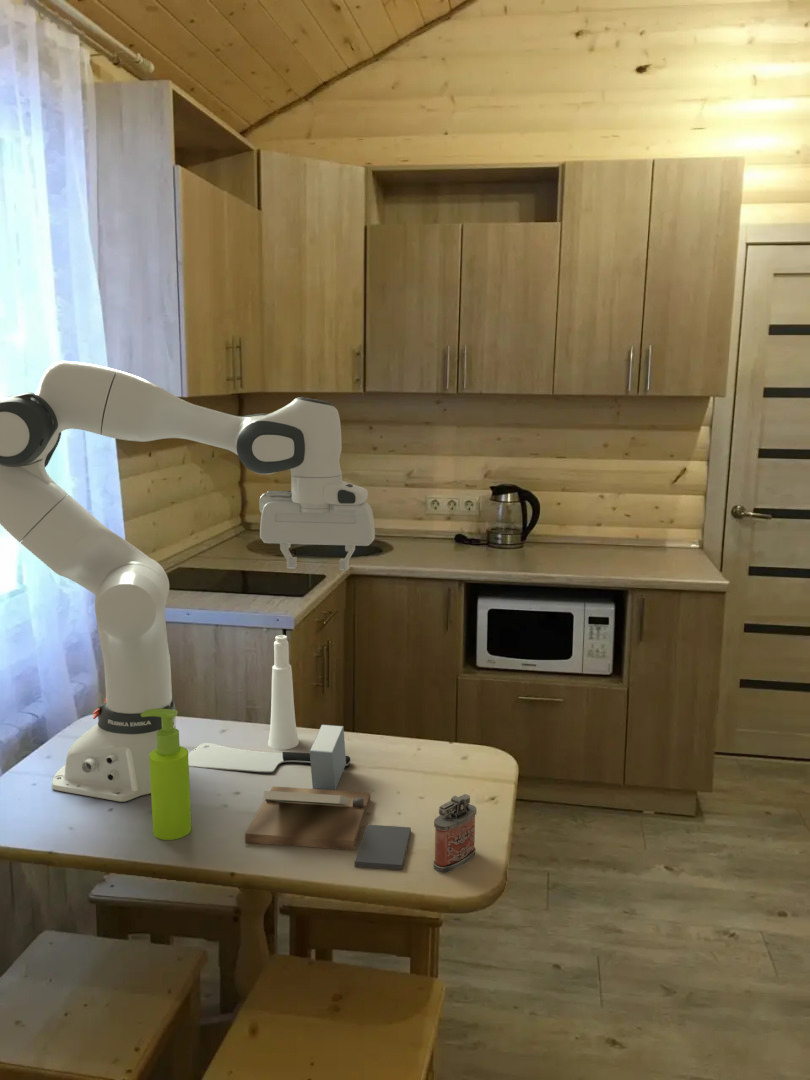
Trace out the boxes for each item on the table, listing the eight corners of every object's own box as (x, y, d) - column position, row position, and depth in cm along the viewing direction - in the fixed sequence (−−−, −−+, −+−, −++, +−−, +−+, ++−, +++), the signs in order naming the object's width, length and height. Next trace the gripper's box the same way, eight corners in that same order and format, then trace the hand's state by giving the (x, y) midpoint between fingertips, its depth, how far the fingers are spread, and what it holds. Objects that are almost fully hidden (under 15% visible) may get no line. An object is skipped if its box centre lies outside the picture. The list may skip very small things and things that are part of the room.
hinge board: (245, 842, 138) (244, 825, 138) (272, 794, 154) (272, 779, 153) (353, 850, 136) (353, 833, 136) (370, 800, 152) (370, 785, 151)
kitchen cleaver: (175, 760, 164) (200, 738, 174) (176, 769, 165) (201, 746, 174) (337, 775, 157) (354, 751, 166) (337, 784, 157) (354, 759, 167)
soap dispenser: (156, 819, 145) (150, 702, 141) (197, 823, 144) (192, 705, 140) (140, 837, 139) (133, 716, 136) (182, 841, 138) (176, 719, 135)
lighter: (463, 846, 137) (464, 786, 135) (480, 854, 135) (482, 793, 133) (428, 867, 132) (428, 804, 130) (445, 876, 129) (446, 812, 127)
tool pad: (354, 866, 132) (354, 861, 131) (367, 829, 142) (367, 824, 142) (401, 869, 131) (401, 864, 131) (410, 832, 142) (410, 827, 141)
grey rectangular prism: (309, 750, 153) (321, 724, 160) (312, 789, 156) (324, 761, 163) (332, 752, 152) (343, 726, 159) (335, 791, 155) (346, 763, 162)
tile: (279, 793, 148) (278, 801, 148) (264, 790, 139) (263, 798, 139) (350, 798, 147) (350, 806, 147) (340, 795, 138) (339, 803, 137)
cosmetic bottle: (272, 738, 177) (269, 631, 173) (302, 739, 177) (300, 632, 173) (264, 751, 171) (261, 640, 167) (295, 752, 171) (293, 641, 167)
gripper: (253, 492, 154) (256, 570, 157) (370, 495, 152) (371, 574, 155) (263, 488, 161) (265, 563, 163) (376, 490, 158) (376, 566, 161)
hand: (317, 568), depth 159 cm, fingers open, 8 cm apart
